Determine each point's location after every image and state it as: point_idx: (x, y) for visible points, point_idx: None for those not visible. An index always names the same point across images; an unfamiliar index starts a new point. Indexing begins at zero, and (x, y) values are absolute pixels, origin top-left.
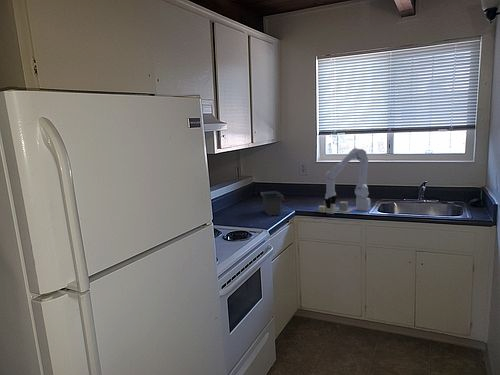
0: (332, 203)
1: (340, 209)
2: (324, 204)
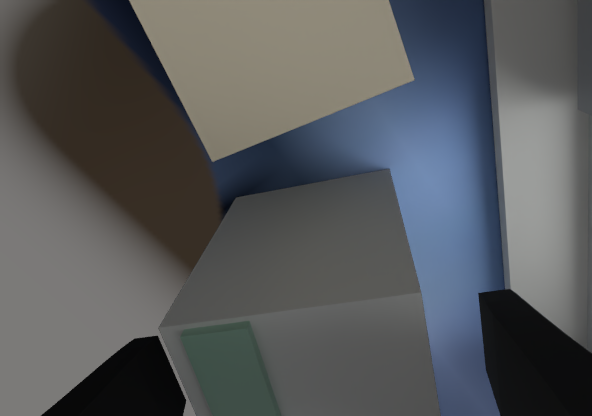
0: (513, 395)
1: None
2: None
